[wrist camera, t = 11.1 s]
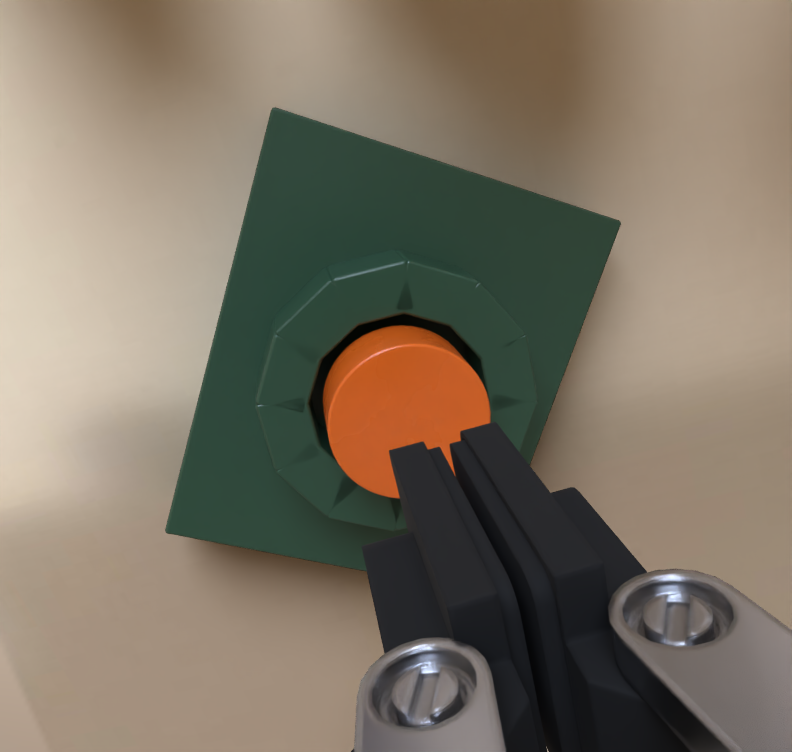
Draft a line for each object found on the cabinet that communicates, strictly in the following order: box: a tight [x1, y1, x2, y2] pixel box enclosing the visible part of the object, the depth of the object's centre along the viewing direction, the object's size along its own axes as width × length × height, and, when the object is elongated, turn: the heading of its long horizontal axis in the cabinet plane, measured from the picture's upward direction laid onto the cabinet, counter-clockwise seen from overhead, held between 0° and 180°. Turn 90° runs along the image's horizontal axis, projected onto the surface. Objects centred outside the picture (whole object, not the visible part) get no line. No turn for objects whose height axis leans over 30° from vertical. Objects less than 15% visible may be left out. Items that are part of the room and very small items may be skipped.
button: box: [323, 325, 491, 498], centre depth 17 cm, size 4×4×2 cm
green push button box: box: [165, 107, 621, 571], centre depth 19 cm, size 11×9×4 cm
